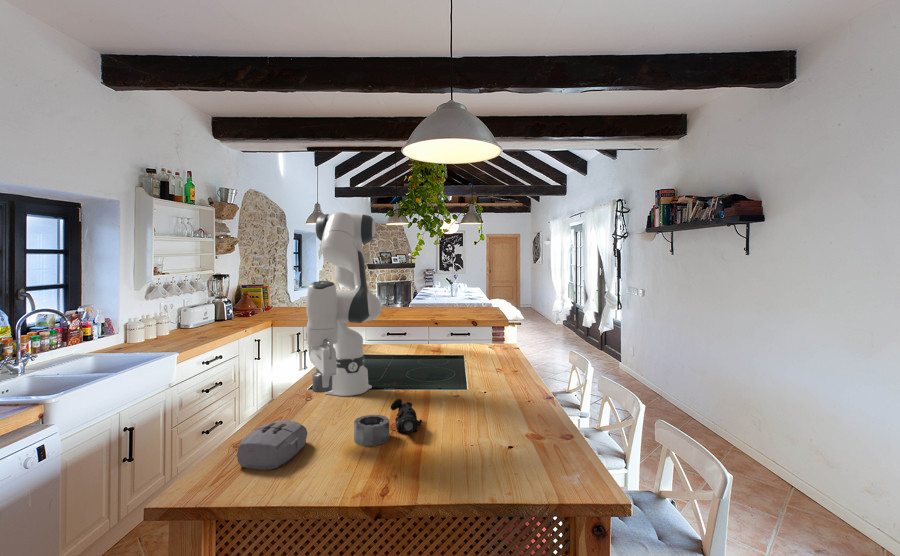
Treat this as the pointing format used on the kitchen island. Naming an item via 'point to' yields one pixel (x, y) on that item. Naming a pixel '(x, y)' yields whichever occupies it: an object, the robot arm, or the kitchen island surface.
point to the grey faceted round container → (371, 430)
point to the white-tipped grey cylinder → (320, 383)
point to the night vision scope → (405, 417)
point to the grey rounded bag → (271, 445)
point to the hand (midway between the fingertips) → (322, 383)
